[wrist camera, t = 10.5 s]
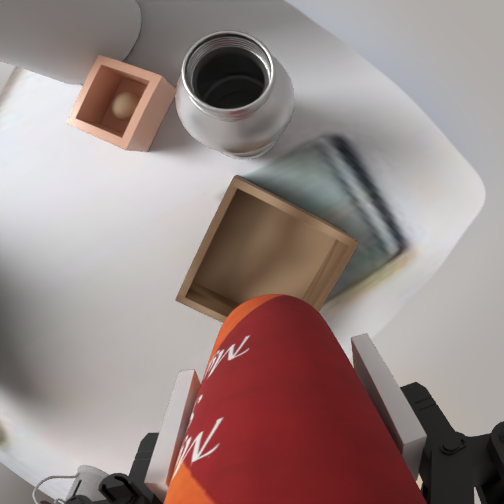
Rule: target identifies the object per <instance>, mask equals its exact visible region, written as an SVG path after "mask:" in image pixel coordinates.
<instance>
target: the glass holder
mask: <svg viewBox="0 0 504 504" xmlns="http://www.w3.org/2000/svg"><path fill="white" fill-rule="evenodd" d="M107 476H109V475H108V474H107V473H105V472H103V471H102V470H100V469H97V468H95V467H91V466H87V465H82V466H79V467H78V473H77V474H76V475H75V476H50V477H48V478H45V479H44V480H42V481H41V482H39V483H38V484H37V486H36V487H35V489H34V491H33V499H34V501H35V503H36V504H39V503H38V502H37V500H36V498H35V493H36V490H37V488H38V487H39V486H40V485H41V484H42V483H43V482H44V481H46V480H49V479H52V478H76V479H75V481H74V483H73V485H72V487H71V489H70V491H69V493H68V496H67V498H66V500H65V501H64V500H62V499H56V500H55V501H54V503H53V504H56V503H57V501H58V500H60V501H62V502H63V503H64V504H65V503H66V501H67V500H68V499H69V498H70V497H72V496H75V495H85V496H87V497H88V498H89V499H90V500H91V501H99V500H105V499H106V498H105V497H104V496H103V495H102V494H101V493H100V492H99V491H98V488H99V484H100V483H101V481H102V480H103V479H104V478H106V477H107Z"/></svg>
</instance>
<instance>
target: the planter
mask: <svg viewBox="0 0 504 504" xmlns="http://www.w3.org/2000/svg"><path fill="white" fill-rule="evenodd" d="M123 92H133V93H135V94H137V95H138V96H139V97H140V101H139V103H138V105H137V107H136V109H135V112H134V114H133V116H132V118H131V120H129V121H122V120H119V119H117V118H116V117H115V116H114V114H113V112H112V103H113V101H114V99H115V98H116V96H118V95H119V94H120V93H123ZM175 93H176V88H175V87H174V86H172V85H171V84H170V83H169V82H168V81H167V80H166V79H165V78H164V77H163V76H161V75H158V74H156V73H153V72H150V71H147V70H144V69H142V68H139V67H136V66H133V65H130V64H127V63H124V62H121V61H118V60H115V59H111V58H108V57H105V56H102V55H98V57H97V59H96V61H95V63H94V65H93V67H92V69H91V71H90V73H89V74H88V76H87V79H86V81H85V83H84V85H83V87H82V89H81V91H80V93H79V95H78V97H77V100H76V102H75V104H74V106H73V109H72V111H71V113H70V116H69V118H68V121H67V123H66V124H67V125H70V126H72V127H74V128H77V129H79V130H81V131H84V132H86V133H88V134H91V135H93V136H95V137H97V138H100V139H102V140H104V141H106V142H109V143H111V144H113V145H115V146H118V147H120V148H122V149H124V150H130V151H141V152H148V150H149V148H150V146H151V144H152V142H153V139H154V137H155V135H156V133H157V131H158V129H159V127H160V125H161V123H162V121H163V119H164V117H165V115H166V113H167V111H168V109H169V107H170V105H171V103H172V101H173V99H174V97H175Z"/></svg>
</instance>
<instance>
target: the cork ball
mask: <svg viewBox="0 0 504 504" xmlns="http://www.w3.org/2000/svg"><path fill="white" fill-rule="evenodd" d="M139 101H140V97H139V96H138V95H137V94H135V93H133V92H123V93H120V94H119V95H118V96H116V98H115V99H114V101H113V103H112V112H113V114H114V116H115V117H116V118H117V119H119V120H122V121H129V120H131V118H132V116H133V114H134V112H135V109H136V107H137V105H138V103H139Z"/></svg>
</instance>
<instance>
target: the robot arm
mask: <svg viewBox="0 0 504 504" xmlns="http://www.w3.org/2000/svg"><path fill="white" fill-rule="evenodd" d="M351 343H352V353H353V363H354V370H355V372H356V373H357V375H358V377H359V379H360V380H361V382H362V384H363V386H364V387H365V389H366V391H367V393H368V395H369V396H370V398H371V400H372V402H373V403H374V405H375V407H376V409H377V411H378V413H379V414H380V416H381V418H382V420H383V422H384V423H385V425H386V427H387V429H388V431H389V433H390V434H391V436H392V438H393V440H394V442H395V444H396V446H397V447H398V449H399V451H400V453H401V455H402V457H403V459H404V461H405V462H406V464H407V466H408V468H409V470H410V472H411V474H412V476H413V478H414V479H415V481H416V480H417V478H418V474H420V476H421V479H422V481H423V483H422V487H421V490H420V491H421V493H422V495H423V497H424V499H425V501H426V503H427V504H474V487H476V490H477V493H478V496H479V498H480V501H481V504H504V421H503V422H500V423H499V424H497V425H496V426H495V427H494V429H493V430H492V433H490V434H485V435H480V436H473V437H468V436H465V435H464V434H462V433H459V432H455V430H454V429H453V428H452V427H451V425H450V424H449V422H448V420H447V419H446V417H445V416H444V414H443V413H442V411H441V410H440V408H439V407H438V405H436V402H435V401H434V399H433V398H432V397H431V395H430V393H429V392H428V390H427V389H426V388H425V387H424V386H422V385H420V384H419V383H417V382H414V383H411V384H408V385H406V386H403V387H399V386H398V384H397V382H396V380H395V379H394V377H393V375H392V374H391V372H390V370H389V369H388V367H387V365H386V364H385V362H384V361H383V359H382V357H381V355H380V354H379V352H378V351H377V349H376V347H375V346H374V344H373V342H372V341H371V339H370V338H369V336H368V334H367V333H366V334H362V335H359V336H355V337H351ZM200 387H201V384H200V382H199V379H198V377H197V374H196V372H195V369H193V370H186V371H179V374H178V377H177V380H176V383H175V386H174V389H173V392H172V395H171V398H170V401H169V405H168V408H167V411H166V414H165V417H164V420H163V423H162V426H161V429H160V433H148V434H147V435H146V436H145V437H144V439H143V440H142V441H141V443H140V445H139V448H138V453H137V454H136V457H135V460H134V462H133V465H132V468H131V471H130V474H129V476H127V475H126V474H122V473H114V474H111V475H109V476H107V477H106V478H104V479H103V480H102V481H101V483H100V484H99V488H98V491H99V492H100V493H101V494H102V495H103V496H104V497H105V498H106V499H105V500H99V501H91V500H90V499H89V498H88V497H87V496H85V495H75V496H72V497H70V498H69V499H68V500H67V501H66V503H65V504H164V501H165V498H166V494H167V491H168V488H169V485H170V482H171V478H172V475H173V472H174V469H175V466H176V462H177V459H178V456H179V453H180V450H181V446H182V443H183V440H184V437H185V434H186V430H187V427H188V424H189V421H190V418H191V415H192V412H193V408H194V405H195V402H196V399H197V396H198V393H199V390H200Z"/></svg>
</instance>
